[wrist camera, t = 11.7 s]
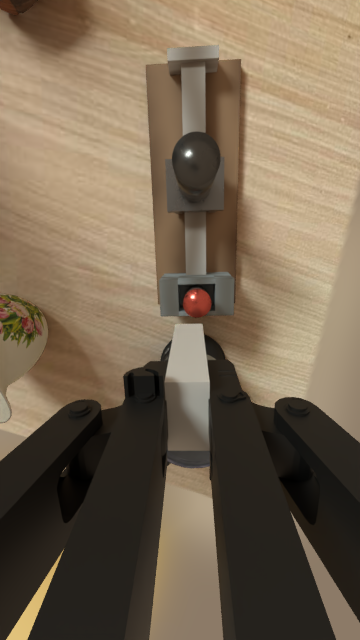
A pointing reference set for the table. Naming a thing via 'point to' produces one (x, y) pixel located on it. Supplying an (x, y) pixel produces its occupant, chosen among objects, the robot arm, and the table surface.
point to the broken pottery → (16, 5)
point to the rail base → (164, 131)
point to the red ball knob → (197, 301)
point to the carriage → (195, 175)
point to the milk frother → (193, 457)
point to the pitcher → (18, 343)
